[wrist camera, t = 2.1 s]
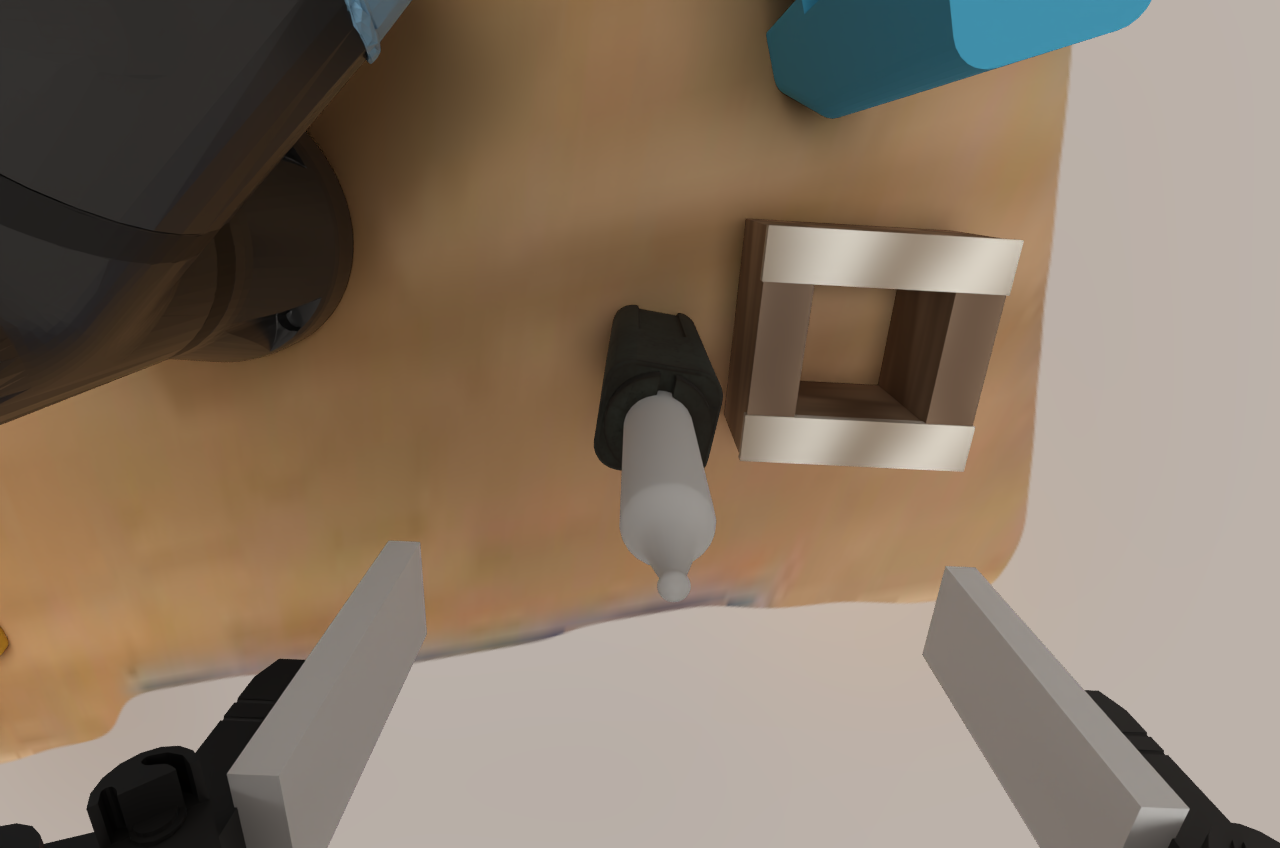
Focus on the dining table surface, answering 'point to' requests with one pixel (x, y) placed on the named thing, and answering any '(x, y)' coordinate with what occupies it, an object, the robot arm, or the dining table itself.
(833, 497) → the dining table surface
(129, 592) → the dining table surface
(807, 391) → the holder
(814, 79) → the block
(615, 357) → the grey and black rod
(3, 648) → the teapot
